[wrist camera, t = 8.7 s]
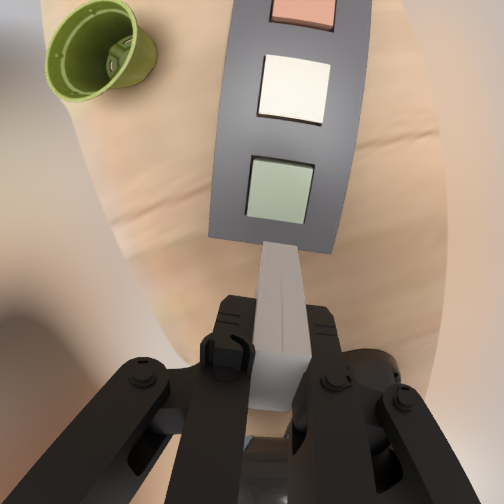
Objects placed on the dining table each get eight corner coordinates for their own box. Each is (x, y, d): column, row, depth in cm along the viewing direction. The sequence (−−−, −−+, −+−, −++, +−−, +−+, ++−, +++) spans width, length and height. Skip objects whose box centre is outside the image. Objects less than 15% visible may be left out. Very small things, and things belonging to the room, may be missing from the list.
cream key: (317, 122, 23) (322, 123, 21) (260, 113, 23) (258, 113, 21) (324, 70, 21) (330, 64, 18) (267, 60, 21) (266, 54, 18)
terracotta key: (327, 34, 20) (333, 26, 17) (272, 25, 20) (272, 16, 17) (331, -7, 18) (336, -18, 15) (278, -16, 18) (278, -28, 15)
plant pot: (169, 10, 20) (133, -20, 13) (178, 89, 24) (141, 80, 17) (93, 38, 21) (44, 26, 14) (100, 111, 25) (49, 117, 18)
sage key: (300, 213, 28) (303, 224, 25) (249, 206, 28) (246, 216, 26) (309, 163, 26) (313, 169, 23) (255, 155, 26) (253, 160, 23)
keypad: (326, 241, 30) (331, 254, 28) (214, 225, 31) (208, 237, 28) (364, -15, 17) (372, -26, 15) (245, -34, 18) (242, -47, 15)
